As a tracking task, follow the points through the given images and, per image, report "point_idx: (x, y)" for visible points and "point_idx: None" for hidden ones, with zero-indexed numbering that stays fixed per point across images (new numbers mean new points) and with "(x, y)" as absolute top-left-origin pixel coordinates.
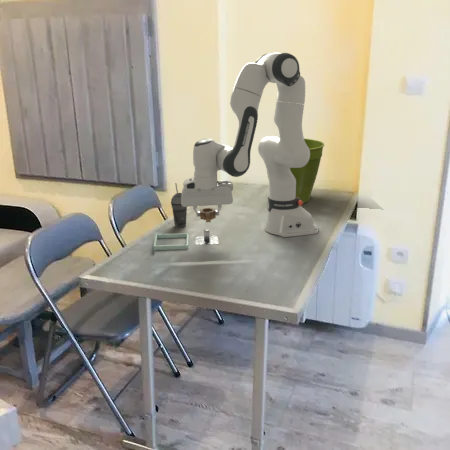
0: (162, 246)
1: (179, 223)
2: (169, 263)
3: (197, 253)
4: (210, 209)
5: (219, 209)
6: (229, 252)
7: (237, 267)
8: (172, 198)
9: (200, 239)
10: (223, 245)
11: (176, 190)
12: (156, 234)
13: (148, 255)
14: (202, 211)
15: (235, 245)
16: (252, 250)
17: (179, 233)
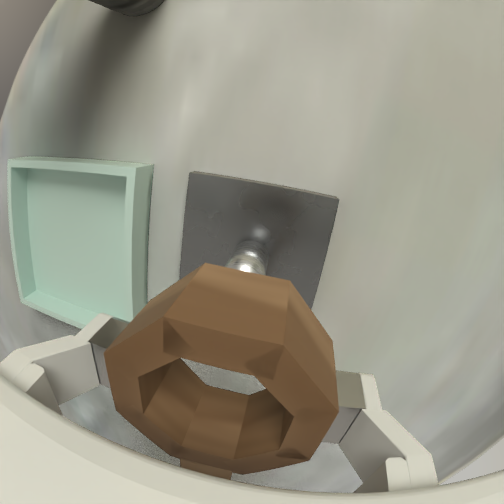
0: (45, 311)
1: (111, 5)
2: (99, 391)
3: (186, 364)
4: (270, 378)
5: (366, 466)
6: None
7: (303, 468)
8: None
9: (212, 236)
10: (332, 318)
11: None
12: (9, 164)
13: (30, 309)
14: (144, 421)
15: (388, 331)
16: (419, 388)
17: (89, 165)
